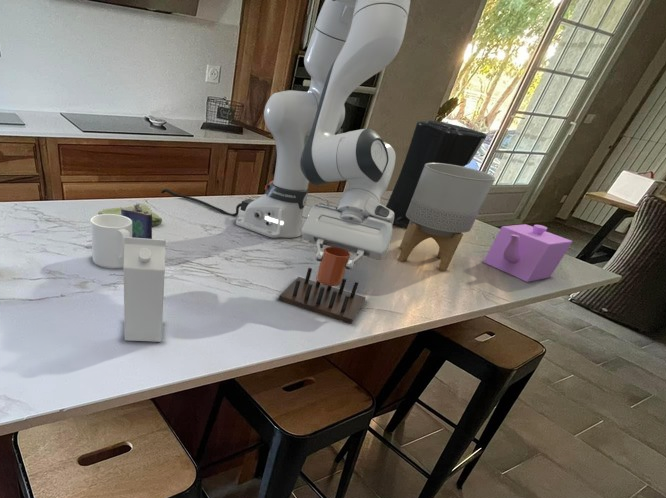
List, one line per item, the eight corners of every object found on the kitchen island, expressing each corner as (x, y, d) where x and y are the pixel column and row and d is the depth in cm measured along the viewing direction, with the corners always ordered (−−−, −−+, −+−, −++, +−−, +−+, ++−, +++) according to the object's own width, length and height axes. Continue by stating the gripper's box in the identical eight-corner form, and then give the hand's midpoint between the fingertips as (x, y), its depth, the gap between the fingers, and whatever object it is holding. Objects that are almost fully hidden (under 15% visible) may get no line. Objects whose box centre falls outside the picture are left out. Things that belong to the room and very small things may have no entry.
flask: (119, 240, 123) (119, 201, 116) (124, 237, 125) (124, 199, 119) (149, 248, 121) (150, 208, 115) (153, 244, 124) (155, 206, 117)
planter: (379, 248, 141) (411, 162, 125) (421, 245, 148) (456, 163, 132) (421, 273, 128) (463, 179, 112) (465, 268, 135) (510, 180, 119)
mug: (85, 257, 112) (83, 216, 106) (119, 250, 117) (119, 212, 111) (110, 275, 105) (108, 233, 99) (145, 268, 110) (145, 228, 104)
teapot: (469, 264, 139) (491, 219, 131) (514, 257, 150) (538, 216, 141) (513, 284, 129) (540, 238, 120) (558, 275, 140) (586, 232, 131)
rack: (278, 299, 104) (283, 280, 101) (297, 280, 115) (302, 262, 111) (351, 324, 99) (358, 303, 96) (364, 301, 109) (371, 282, 106)
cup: (313, 281, 102) (321, 252, 98) (320, 273, 106) (328, 244, 102) (337, 288, 100) (347, 259, 96) (343, 280, 104) (352, 251, 100)
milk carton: (126, 322, 89) (125, 230, 77) (161, 323, 90) (165, 233, 78) (124, 341, 83) (122, 245, 72) (161, 342, 84) (165, 247, 73)
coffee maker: (453, 226, 173) (497, 130, 152) (420, 240, 153) (465, 132, 133) (401, 209, 184) (435, 118, 164) (363, 220, 165) (397, 118, 144)
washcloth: (96, 216, 137) (95, 206, 135) (147, 213, 145) (148, 203, 143) (110, 231, 128) (109, 220, 126) (164, 227, 136) (164, 216, 134)
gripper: (313, 193, 102) (290, 245, 100) (401, 214, 95) (378, 270, 94) (314, 209, 107) (292, 258, 106) (397, 229, 101) (375, 282, 100)
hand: (333, 264), depth 100 cm, fingers closed on cup, 6 cm apart
